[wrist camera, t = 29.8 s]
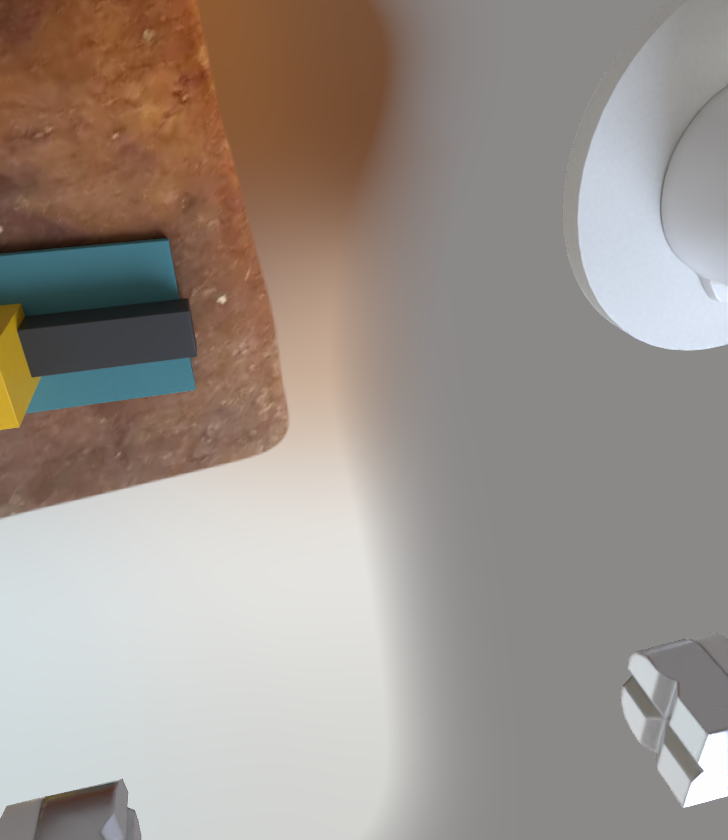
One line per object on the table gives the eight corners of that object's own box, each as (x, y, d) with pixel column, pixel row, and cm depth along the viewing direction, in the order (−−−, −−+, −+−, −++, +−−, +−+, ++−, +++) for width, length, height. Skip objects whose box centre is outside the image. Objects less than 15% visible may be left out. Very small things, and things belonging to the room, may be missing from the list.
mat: (168, 237, 39) (168, 239, 39) (195, 386, 44) (195, 390, 44) (-89, 261, 37) (-93, 264, 36) (-30, 417, 42) (-32, 421, 41)
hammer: (186, 285, 40) (187, 324, 34) (198, 354, 43) (201, 401, 37) (-111, 317, 37) (-166, 366, 31) (-81, 389, 39) (-127, 448, 33)
